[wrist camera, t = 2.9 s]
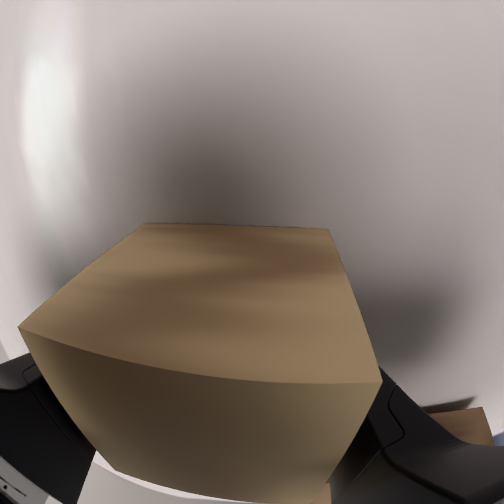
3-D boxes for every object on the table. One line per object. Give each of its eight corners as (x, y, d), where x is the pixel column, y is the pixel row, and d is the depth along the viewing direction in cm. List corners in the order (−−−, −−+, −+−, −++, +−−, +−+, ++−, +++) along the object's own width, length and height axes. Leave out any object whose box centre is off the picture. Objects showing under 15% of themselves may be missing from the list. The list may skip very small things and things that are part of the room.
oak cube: (328, 229, 9) (382, 381, 3) (308, 368, 11) (310, 503, 5) (145, 223, 9) (17, 326, 4) (168, 355, 12) (115, 470, 6)
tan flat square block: (482, 406, 10) (498, 457, 7) (409, 480, 15) (411, 518, 11) (308, 412, 12) (300, 481, 9) (283, 481, 17) (275, 522, 13)
